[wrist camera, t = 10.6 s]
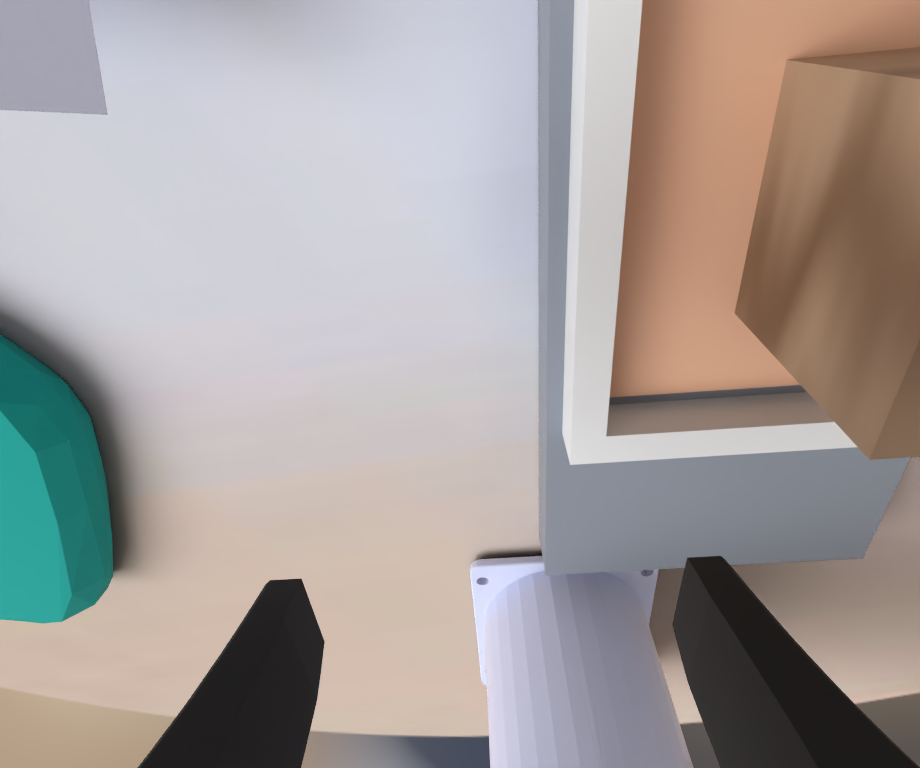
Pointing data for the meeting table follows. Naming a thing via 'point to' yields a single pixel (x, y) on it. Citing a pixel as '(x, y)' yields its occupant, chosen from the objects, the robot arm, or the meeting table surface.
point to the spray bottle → (49, 496)
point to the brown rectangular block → (844, 244)
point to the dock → (680, 291)
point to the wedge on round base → (49, 57)
